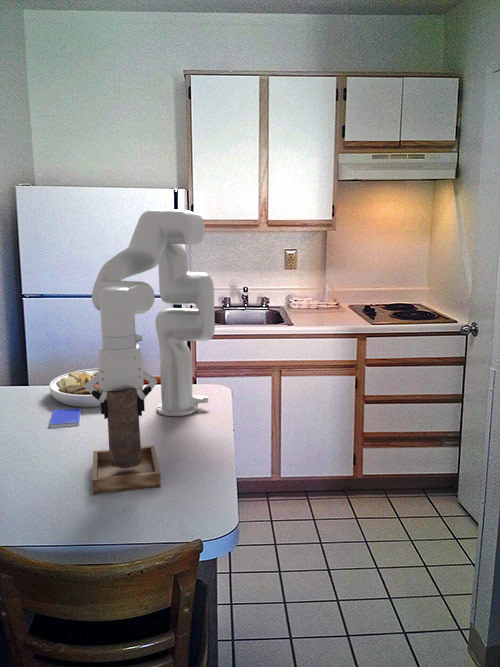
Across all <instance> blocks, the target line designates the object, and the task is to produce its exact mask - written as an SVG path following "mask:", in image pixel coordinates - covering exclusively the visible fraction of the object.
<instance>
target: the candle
mask: <svg viewBox="0 0 500 667" xmlns="http://www.w3.org/2000/svg"><path fill="white" fill-rule="evenodd" d="M106 400H107V416H108V418H107V432H108V434H107V435H108V450H109V454H110V465H111V466H112V467H118V468H123V469H124V468H130V467H135V466H139V465H140V464H141V447H142V446H141V445H142V444H141V433H140V432H141V429H140V416H139V411H138V394H137V390H136V388H132V389H131V388H128V389H125V390H121V391H113V392H108V393H107V396H106Z"/></svg>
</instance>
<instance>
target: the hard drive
mask: <svg viewBox="0 0 500 667" xmlns="http://www.w3.org/2000/svg"><path fill="white" fill-rule="evenodd" d="M81 415H82V407H74V408H62V409H60V408H58V409H54V410H53V411H52V415H51V418H50V421H49V428H51V429H52V428H53V429H54V428H63V427H76V426H80V424H81V423H80V422H81Z"/></svg>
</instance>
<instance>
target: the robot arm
mask: <svg viewBox="0 0 500 667" xmlns="http://www.w3.org/2000/svg"><path fill="white" fill-rule="evenodd" d="M205 232H206V225H205V222H204V219H203V217H202V216H201V215H200V214H199V213H197V212H195V211H194V212H193V211H190V210H186V209H161V208H160V209H149V210H146V211H144V212H143V213H142V214H140V216H139V218H138V220H137V223H136V225H135V228H134V230H133V234H132V236H131V239H130V241H129V245H128V246H127V247H126V248H125V249H123V250H121V251H120V252H118V253H117V254H116V255H114V256H113V257H111V258H110V259H109V260H107V261H106V262H105V263H104V264H103V265H102V267H100V270H99V272H98V274H97V277H96V279H95V281H94V284H93V287H92V292H91V301H92V304H93V306H94V308H95V309H96V310H98V311H99V312H100V313H99V314H100V327H101V328H100V329H101V341H102V342H101V343H102V346H99V348H98V355H97V368H98V374H97V375H96V376H94V377H93V378H92V379H91V380H90V381H89V382H87V383H86V384H85V388H86V389H87V390H88V391H89V392H90V393H91V394H92V396H94V397H95V398H96V399H97V400H99V402H100V405H101V407H100V415H103V418H104V420H108V416H107V400H106V396H107V393H108V392H113V391H121V390H125V389H128V388H131V389H132V388H136V390H137V394H138V411H139V417H143V412H145V411H146V410H145V399H146V397H147V396H148V395H149V394H150V393H151V392H152V390H153V389H154V387H155V386H156V385H157V383H158V380H157V378H156V377H153V376H152V375H151V374H149V373H148V372H147V371H145V370H144V366H143V365H144V364H143V357H142V351H141V347H140V344H138V343H139V342H143V335H142V334H141V335H139V334H137V333H136V315H141V314H145V313H147V312H148V311H150V310H151V309H152V307H153V305H154V303H155V301H156V300H155V299H156V298H155V291H154V289H153V286H151V284H149V283H148V282H146V281H145V282H144V281H138V280H137V281H136V280H135V281H133V280H124V279H127V278H129V277H132V276H136V275H138V274H142V273H145V272H147V271H149V270H152V269H154V268H156V267H157V266H158V267H157V268H158V287H159V297H160V300H161V301H162V302H164V303H166V304H169V305H185V306H186V305H187V306H189V305H191V306H196V308H181V307H179V308H178V307H170V308H164V309H162V310H160V311H159V312H158V313H157V315H156V317H155V320H154V321H155V329H156V334H157V335H156V336H157V338H158V339H157V340H158V347H159V348H158V349H159V363H160V364H159V365H160V368H159V369H160V370H159V371H160V395H161V398H160V399H161V402H159V404H157V405H156V411H157V413H158V414H159V415H162V416H167V417H185V416H189V415H191V414H194V413H196V412H197V411H198V409H199V404H208V403H209V397H208V396H203V395H196V394H194V390H193V365H192V363H193V359H192V358H193V357H192V356H193V355H192V352H191V349H190V347H189V346H188V345H187V343H186V342H207V341H210V340H211V339H213V336H214V334H215V328H216V327H215V326H216V325H215V324H216V323H215V322H216V320H215V316H216V315H215V314H216V313H215V288H214V287H215V285H214V281H213V278H212V276H210V274H208V273H207V272H199V271H198V272H196V271H195V272H194V271H189V268H188V253H187V251H186V250H185V248H184V247H183V245H199V244H200V243H201V242H202V241H203V240H204V237H205ZM185 341H186V342H185ZM144 380H145V381H147V382H148V384H147V385H146V386H145V387H144V384H145V381H144ZM97 382H99V388H100V390H101V393H100V392H99V391H97V390H96V389H95V388H94V387H93V386H94V385H95V384H96V383H97ZM143 387H144V388H143Z"/></svg>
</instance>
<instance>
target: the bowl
mask: <svg viewBox="0 0 500 667" xmlns="http://www.w3.org/2000/svg"><path fill="white" fill-rule="evenodd" d="M97 374H98V367H97V368H89V369H81V370H76V371H75V370H74V371H71V372H68V373H64V374H61V375H58V376H57V377H55V378H54V379H53V380H51V381H50V383H49V392H50V394H51V396H52V397H53V399H55V400H56V401H57V402H59V403H61V404H63V405H67V406H71V407H75V408H101V405H100V402H99V400H97V399H96V398H95V397H94V396H92V394H91V393H90V392H89V391H88V390H87V389H86V388H85V384H86V383H87V382H89V381H90V380H91V379H92V378H93V377H94V376H96V375H97ZM93 387H94V388H95V389H96V390H97V391H99V392H100V393H101V390H100V388H99V382H97V383H96V384H95V385H94V386H93Z"/></svg>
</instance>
